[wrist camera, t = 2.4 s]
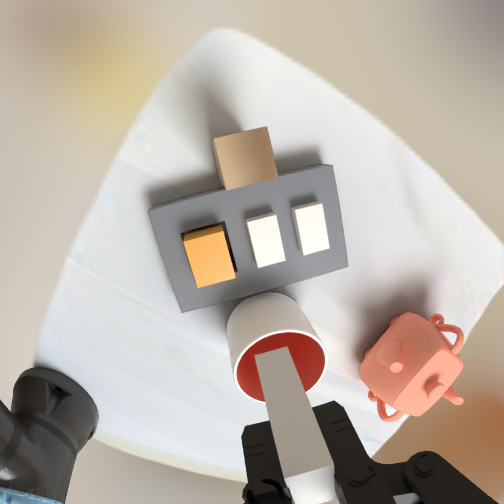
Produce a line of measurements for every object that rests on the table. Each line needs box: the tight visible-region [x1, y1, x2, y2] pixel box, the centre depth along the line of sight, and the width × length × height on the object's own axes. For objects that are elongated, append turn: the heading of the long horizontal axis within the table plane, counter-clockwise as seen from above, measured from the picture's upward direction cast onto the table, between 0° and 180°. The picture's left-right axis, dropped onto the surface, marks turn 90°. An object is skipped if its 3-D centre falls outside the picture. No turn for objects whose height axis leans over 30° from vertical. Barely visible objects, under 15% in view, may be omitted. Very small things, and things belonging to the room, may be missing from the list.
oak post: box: [211, 127, 279, 190], centre depth 29 cm, size 4×4×12 cm
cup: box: [227, 292, 327, 403], centre depth 36 cm, size 10×10×10 cm
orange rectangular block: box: [183, 224, 236, 288], centre depth 33 cm, size 4×5×3 cm
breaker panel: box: [148, 164, 348, 313], centre depth 35 cm, size 20×12×4 cm, turn 103°
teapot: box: [360, 312, 464, 422], centre depth 40 cm, size 15×17×13 cm
